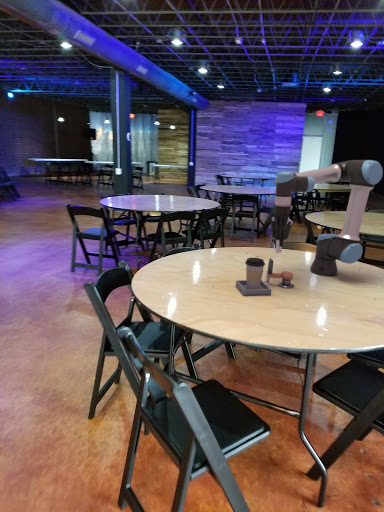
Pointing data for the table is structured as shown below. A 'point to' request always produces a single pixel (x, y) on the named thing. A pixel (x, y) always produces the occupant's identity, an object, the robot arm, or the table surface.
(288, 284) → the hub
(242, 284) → the tray
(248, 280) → the coffee cup
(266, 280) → the peg
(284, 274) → the crank
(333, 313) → the table surface
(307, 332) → the table surface
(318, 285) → the table surface
